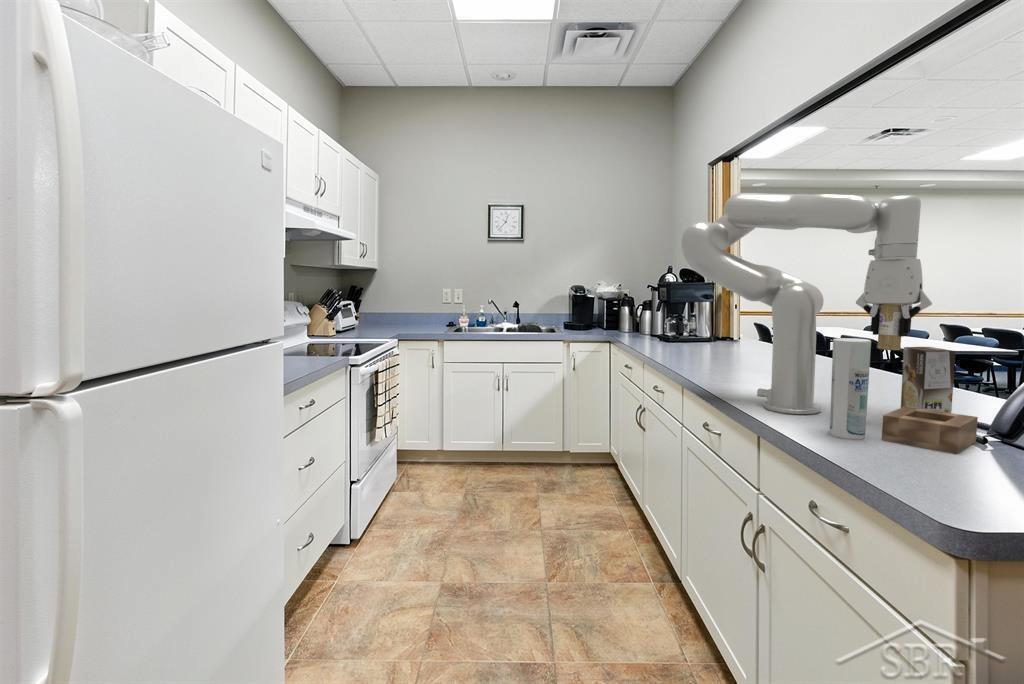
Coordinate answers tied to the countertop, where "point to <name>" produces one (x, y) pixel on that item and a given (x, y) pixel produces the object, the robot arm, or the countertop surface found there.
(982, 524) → the countertop surface
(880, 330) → the sprinkles bottle
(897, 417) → the bore block
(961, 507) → the countertop surface
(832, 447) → the countertop surface
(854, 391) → the spray can
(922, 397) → the coffee box
